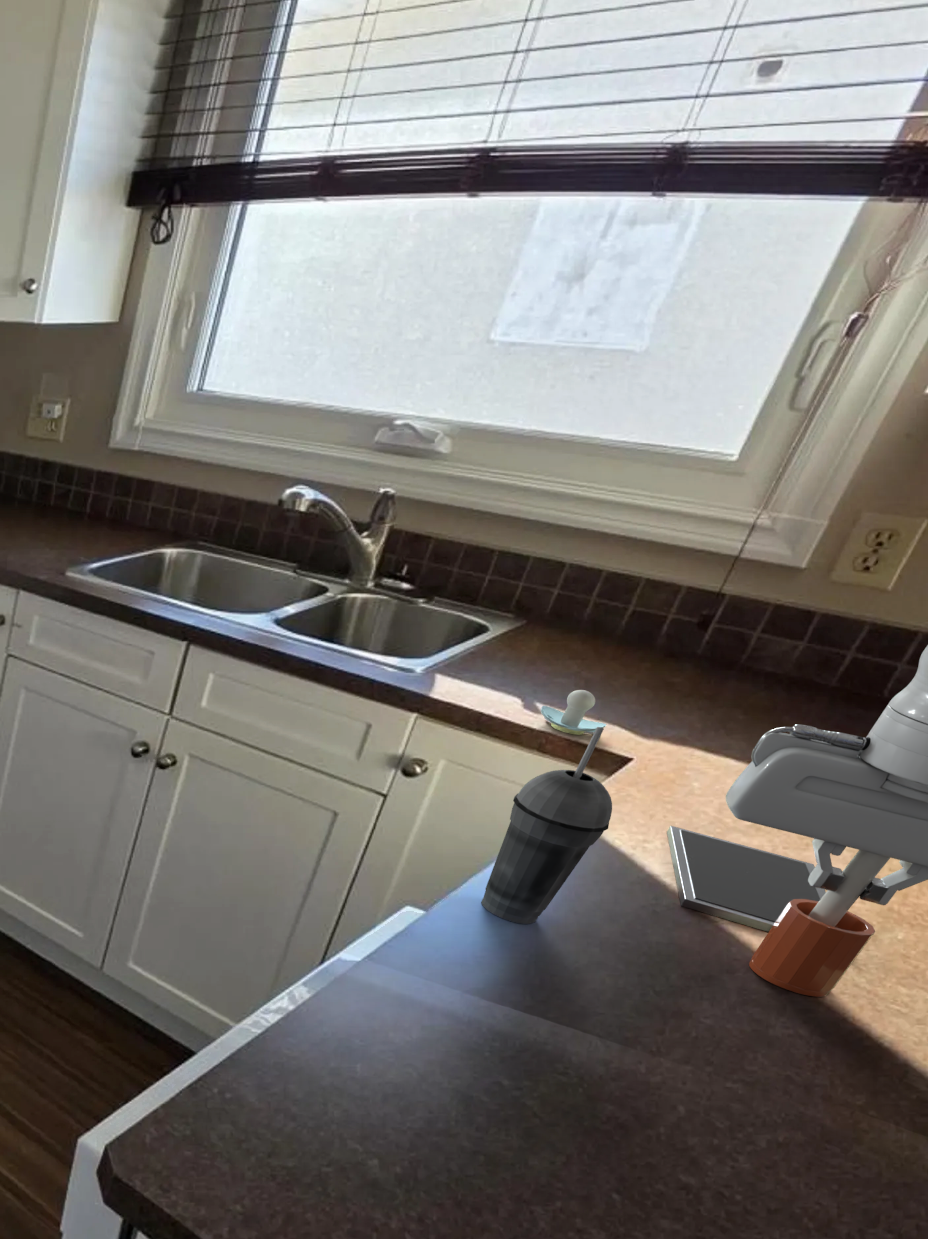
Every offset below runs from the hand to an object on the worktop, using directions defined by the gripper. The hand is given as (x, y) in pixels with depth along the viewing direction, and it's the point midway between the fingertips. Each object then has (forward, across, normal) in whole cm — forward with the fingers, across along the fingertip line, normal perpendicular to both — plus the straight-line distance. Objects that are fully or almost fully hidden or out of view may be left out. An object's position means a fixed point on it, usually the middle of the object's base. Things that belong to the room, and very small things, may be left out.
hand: (845, 893), depth 90 cm
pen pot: (+9, 0, 0) cm, 9 cm away
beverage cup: (+10, -21, -4) cm, 23 cm away
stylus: (+6, 0, +1) cm, 6 cm away
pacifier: (+10, -13, +60) cm, 62 cm away
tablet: (+9, 0, +19) cm, 21 cm away
